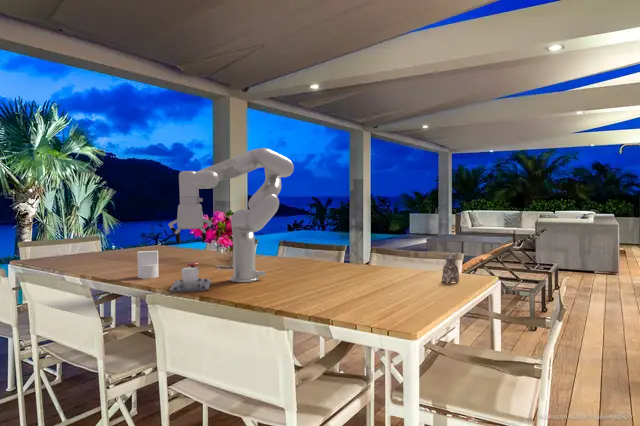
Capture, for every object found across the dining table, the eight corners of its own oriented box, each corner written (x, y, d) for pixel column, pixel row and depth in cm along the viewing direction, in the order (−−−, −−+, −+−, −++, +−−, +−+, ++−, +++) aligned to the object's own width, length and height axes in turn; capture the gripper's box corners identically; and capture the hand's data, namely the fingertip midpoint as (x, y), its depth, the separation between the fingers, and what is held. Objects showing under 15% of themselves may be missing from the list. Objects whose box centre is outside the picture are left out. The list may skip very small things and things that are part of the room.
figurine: (440, 282, 193) (440, 254, 192) (443, 279, 199) (444, 252, 198) (457, 283, 189) (457, 255, 189) (460, 281, 196) (460, 253, 195)
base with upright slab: (158, 274, 214) (158, 249, 213) (158, 278, 205) (157, 252, 205) (138, 275, 211) (138, 250, 211) (137, 279, 203) (136, 253, 202)
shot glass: (194, 287, 180) (194, 269, 180) (178, 286, 181) (178, 269, 181) (201, 283, 187) (201, 267, 186) (186, 283, 188) (186, 266, 187)
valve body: (211, 281, 196) (210, 261, 196) (208, 290, 178) (208, 268, 177) (175, 283, 194) (175, 262, 193) (169, 292, 175) (168, 270, 175)
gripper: (211, 200, 188) (213, 241, 189) (168, 201, 184) (170, 242, 185) (210, 201, 180) (212, 243, 181) (166, 202, 177) (167, 245, 178)
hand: (191, 242), depth 183 cm, fingers open, 9 cm apart
